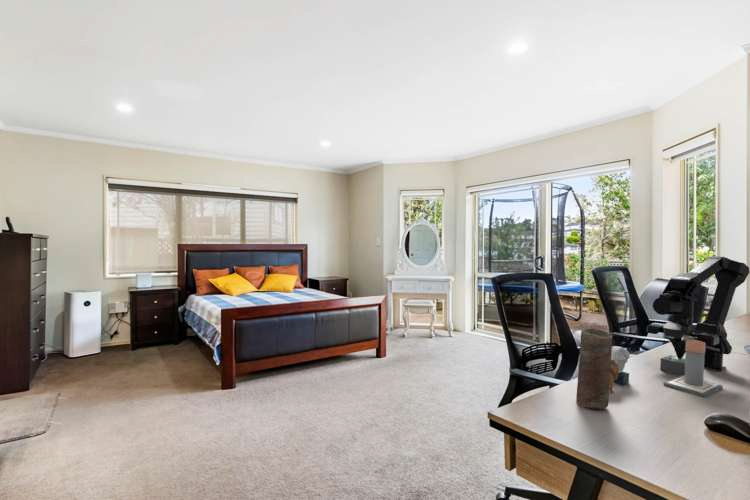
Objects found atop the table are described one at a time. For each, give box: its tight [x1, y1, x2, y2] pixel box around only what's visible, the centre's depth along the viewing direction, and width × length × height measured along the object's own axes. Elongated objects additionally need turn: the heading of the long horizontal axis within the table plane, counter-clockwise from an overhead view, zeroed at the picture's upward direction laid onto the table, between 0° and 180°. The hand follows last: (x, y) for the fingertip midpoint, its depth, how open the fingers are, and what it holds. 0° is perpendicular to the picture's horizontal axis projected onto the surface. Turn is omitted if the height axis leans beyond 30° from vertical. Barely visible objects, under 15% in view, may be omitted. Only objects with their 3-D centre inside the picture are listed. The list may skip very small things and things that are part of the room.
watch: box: [611, 345, 631, 387], centre depth 118 cm, size 6×8×11 cm
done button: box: [671, 357, 685, 363], centre depth 129 cm, size 4×4×3 cm
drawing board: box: [663, 375, 724, 398], centre depth 115 cm, size 14×10×1 cm
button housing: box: [659, 354, 685, 376], centre depth 129 cm, size 8×8×4 cm
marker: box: [684, 340, 706, 386], centre depth 115 cm, size 5×5×13 cm
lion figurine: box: [609, 359, 619, 394], centre depth 110 cm, size 15×5×9 cm, turn 117°
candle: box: [575, 328, 613, 410], centre depth 100 cm, size 8×7×20 cm
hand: (679, 358), depth 129 cm, fingers closed, pressing on done button
